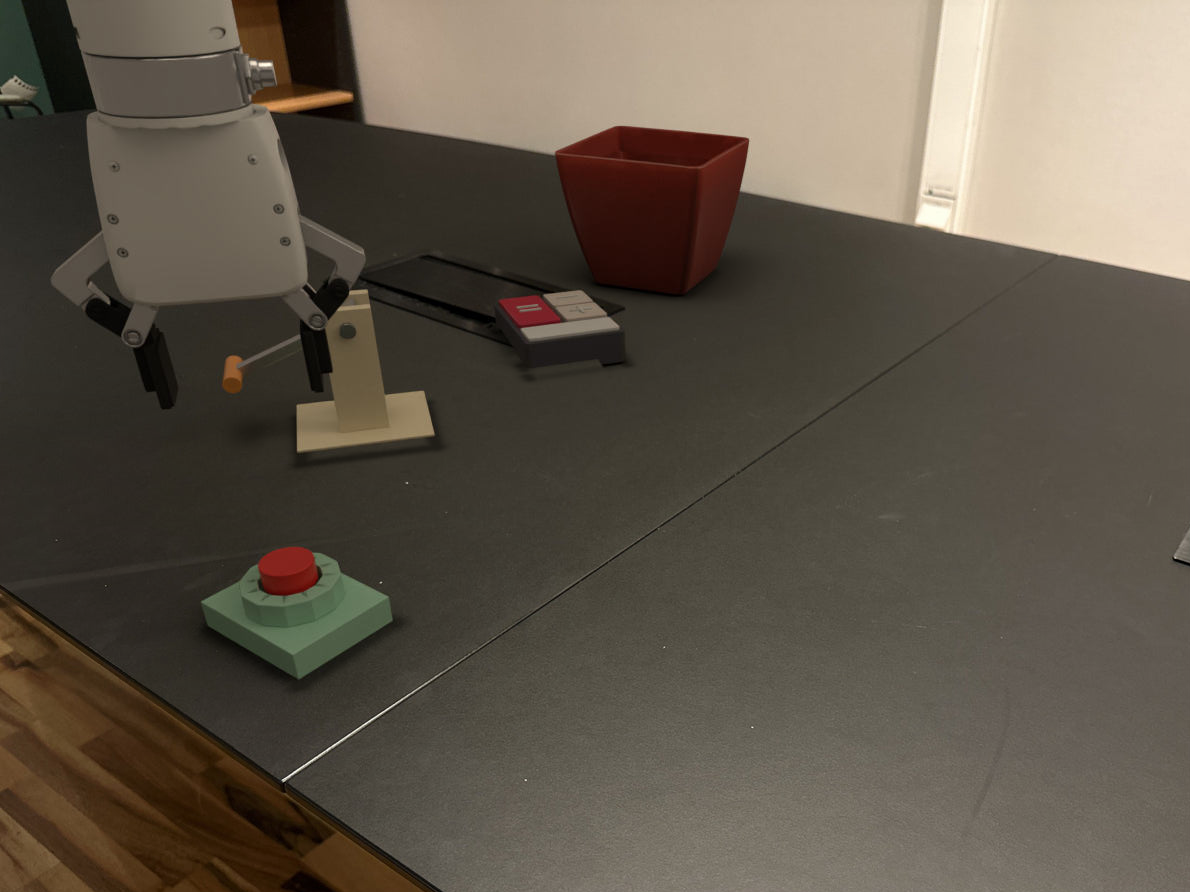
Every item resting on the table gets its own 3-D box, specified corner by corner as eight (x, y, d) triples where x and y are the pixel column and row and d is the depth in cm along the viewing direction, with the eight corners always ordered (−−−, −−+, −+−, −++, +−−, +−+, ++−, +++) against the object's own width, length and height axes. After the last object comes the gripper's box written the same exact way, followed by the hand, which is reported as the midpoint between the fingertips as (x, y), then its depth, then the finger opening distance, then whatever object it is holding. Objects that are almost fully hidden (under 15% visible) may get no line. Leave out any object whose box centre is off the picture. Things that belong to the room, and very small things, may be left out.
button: (252, 585, 72) (246, 563, 71) (296, 561, 74) (291, 540, 74) (285, 603, 70) (280, 581, 69) (329, 578, 73) (325, 557, 72)
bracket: (299, 462, 94) (269, 327, 87) (298, 415, 102) (271, 287, 95) (436, 445, 98) (418, 313, 91) (425, 401, 105) (407, 276, 99)
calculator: (584, 286, 124) (625, 323, 113) (586, 321, 127) (627, 361, 115) (492, 297, 121) (525, 336, 109) (496, 333, 123) (528, 375, 111)
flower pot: (620, 247, 150) (616, 122, 141) (747, 264, 145) (752, 136, 135) (559, 288, 134) (550, 151, 125) (698, 309, 129) (700, 168, 120)
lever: (232, 400, 92) (215, 378, 90) (234, 377, 96) (218, 356, 94) (369, 334, 93) (354, 311, 91) (366, 314, 97) (352, 292, 95)
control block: (207, 626, 74) (193, 580, 72) (303, 574, 79) (292, 530, 77) (298, 680, 69) (286, 632, 67) (393, 621, 75) (385, 575, 73)
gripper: (342, 70, 61) (387, 354, 70) (-2, 79, 56) (97, 384, 65) (347, 93, 55) (396, 400, 64) (-37, 106, 50) (77, 436, 59)
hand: (245, 390), depth 65 cm, fingers open, 8 cm apart
